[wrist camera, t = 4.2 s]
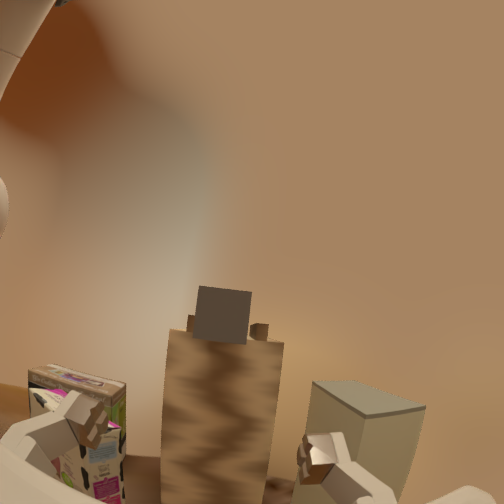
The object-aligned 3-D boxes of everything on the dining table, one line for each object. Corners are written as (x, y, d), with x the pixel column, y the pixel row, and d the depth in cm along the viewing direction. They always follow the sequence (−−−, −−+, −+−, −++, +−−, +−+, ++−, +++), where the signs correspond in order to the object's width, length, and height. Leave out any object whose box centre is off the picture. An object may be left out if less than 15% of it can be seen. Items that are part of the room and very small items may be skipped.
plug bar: (192, 337, 15) (199, 285, 15) (219, 332, 36) (222, 311, 37) (246, 344, 15) (251, 292, 15) (241, 335, 36) (244, 313, 37)
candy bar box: (134, 538, 13) (125, 426, 18) (103, 552, 9) (80, 434, 14) (73, 491, 18) (62, 386, 22) (44, 497, 13) (26, 385, 18)
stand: (163, 536, 15) (171, 312, 23) (182, 484, 29) (196, 318, 36) (252, 547, 16) (285, 325, 23) (248, 492, 29) (268, 327, 37)
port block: (298, 600, 6) (366, 414, 12) (281, 538, 18) (312, 380, 24) (345, 592, 6) (426, 405, 12) (317, 535, 18) (354, 380, 24)
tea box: (127, 453, 35) (128, 381, 39) (115, 478, 25) (113, 396, 29) (55, 430, 32) (53, 360, 36) (32, 448, 22) (26, 367, 27)
